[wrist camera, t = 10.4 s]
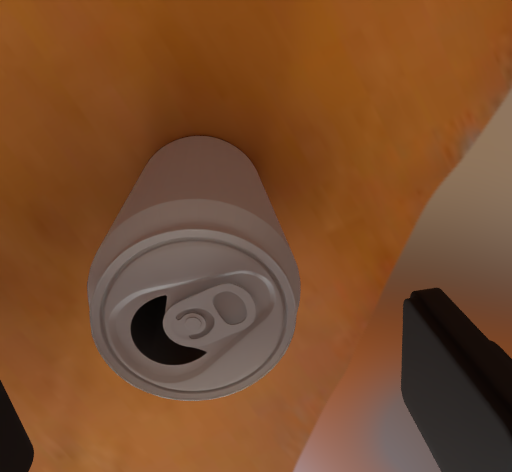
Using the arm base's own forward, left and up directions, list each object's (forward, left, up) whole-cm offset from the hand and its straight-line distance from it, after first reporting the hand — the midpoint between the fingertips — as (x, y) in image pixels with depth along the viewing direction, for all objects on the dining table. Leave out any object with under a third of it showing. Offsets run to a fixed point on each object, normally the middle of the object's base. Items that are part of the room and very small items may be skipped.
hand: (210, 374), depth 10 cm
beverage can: (0, 0, -14) cm, 14 cm away
